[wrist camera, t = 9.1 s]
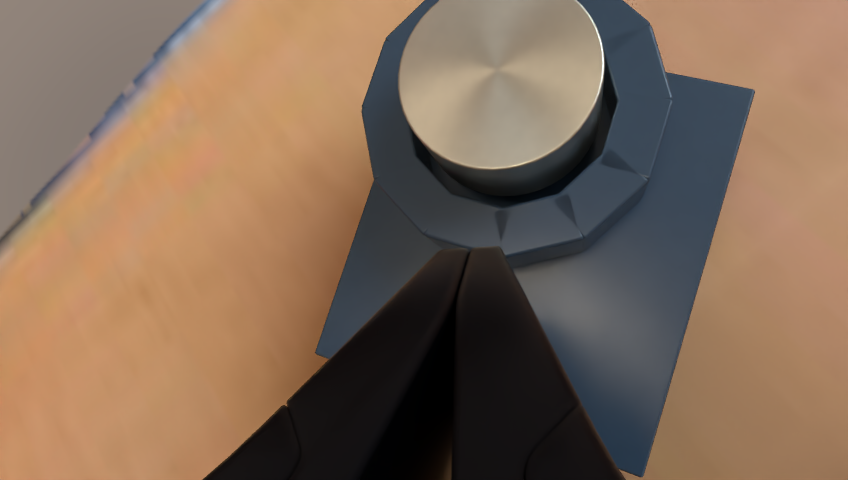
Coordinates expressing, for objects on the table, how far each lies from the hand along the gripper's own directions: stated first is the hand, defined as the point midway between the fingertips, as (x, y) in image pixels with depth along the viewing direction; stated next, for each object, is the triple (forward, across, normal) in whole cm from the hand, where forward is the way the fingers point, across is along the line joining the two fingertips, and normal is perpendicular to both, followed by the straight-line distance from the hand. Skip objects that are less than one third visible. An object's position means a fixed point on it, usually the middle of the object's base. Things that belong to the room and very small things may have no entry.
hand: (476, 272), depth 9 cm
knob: (+8, 0, +1) cm, 8 cm away
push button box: (+10, 0, +7) cm, 13 cm away
